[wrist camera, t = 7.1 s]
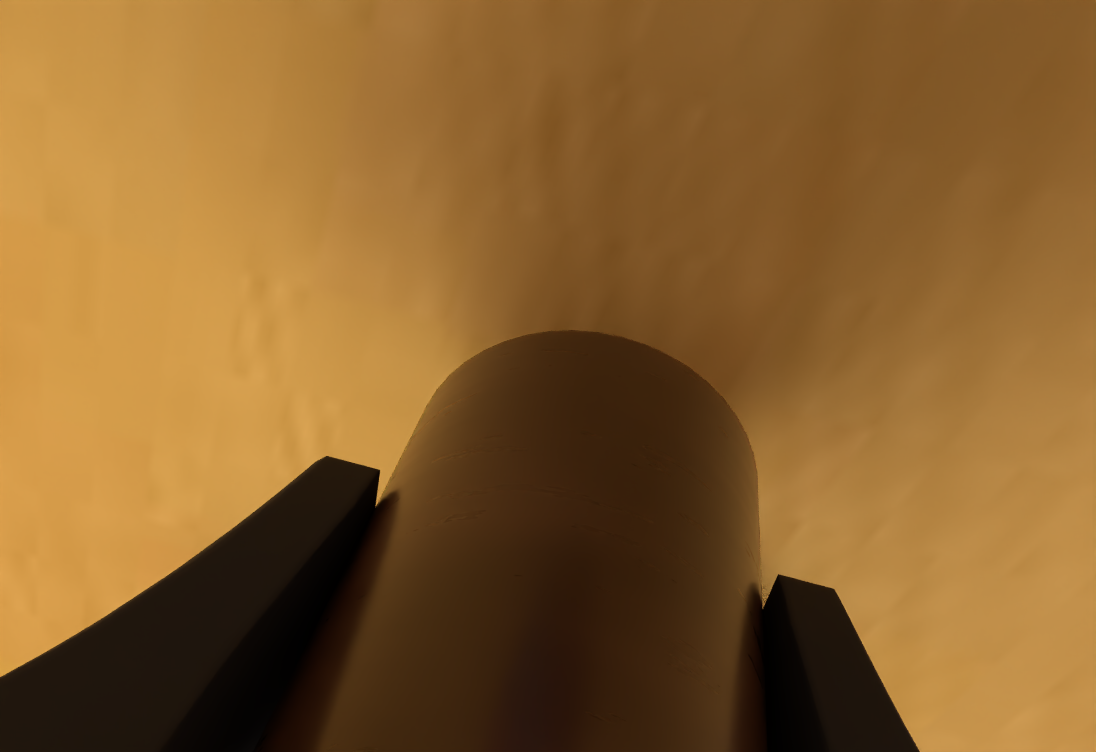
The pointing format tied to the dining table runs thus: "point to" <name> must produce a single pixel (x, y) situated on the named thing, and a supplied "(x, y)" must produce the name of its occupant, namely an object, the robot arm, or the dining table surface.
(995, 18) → the dining table surface
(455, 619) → the pepper mill
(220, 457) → the dining table surface
